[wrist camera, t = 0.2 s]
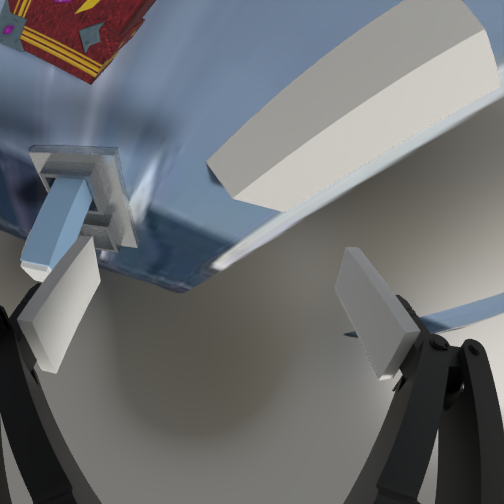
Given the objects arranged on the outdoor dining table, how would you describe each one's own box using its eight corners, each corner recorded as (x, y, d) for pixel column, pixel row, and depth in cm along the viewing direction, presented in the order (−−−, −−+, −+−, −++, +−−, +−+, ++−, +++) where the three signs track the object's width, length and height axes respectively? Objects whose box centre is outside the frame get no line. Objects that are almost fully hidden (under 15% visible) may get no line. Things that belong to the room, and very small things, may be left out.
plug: (55, 170, 29) (13, 263, 23) (87, 172, 30) (47, 271, 24) (64, 190, 32) (29, 279, 26) (94, 193, 33) (61, 286, 27)
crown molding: (288, 205, 37) (289, 229, 35) (205, 158, 30) (199, 182, 29) (495, 80, 17) (514, 102, 15) (434, -27, 10) (457, -18, 8)
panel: (33, 145, 27) (20, 164, 25) (117, 147, 28) (107, 169, 27) (75, 232, 44) (69, 248, 42) (139, 241, 45) (134, 259, 44)
